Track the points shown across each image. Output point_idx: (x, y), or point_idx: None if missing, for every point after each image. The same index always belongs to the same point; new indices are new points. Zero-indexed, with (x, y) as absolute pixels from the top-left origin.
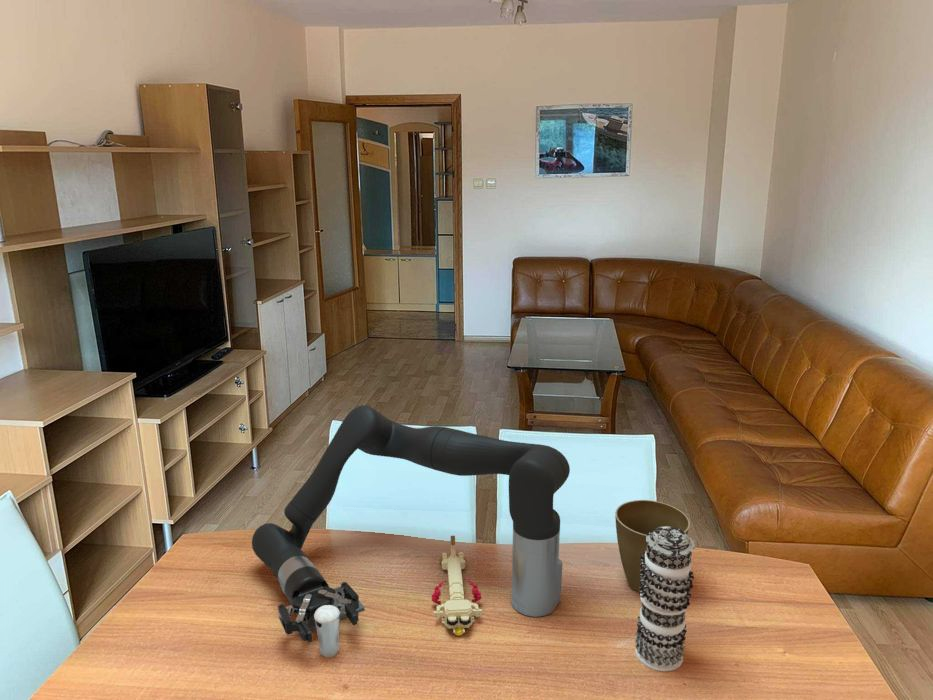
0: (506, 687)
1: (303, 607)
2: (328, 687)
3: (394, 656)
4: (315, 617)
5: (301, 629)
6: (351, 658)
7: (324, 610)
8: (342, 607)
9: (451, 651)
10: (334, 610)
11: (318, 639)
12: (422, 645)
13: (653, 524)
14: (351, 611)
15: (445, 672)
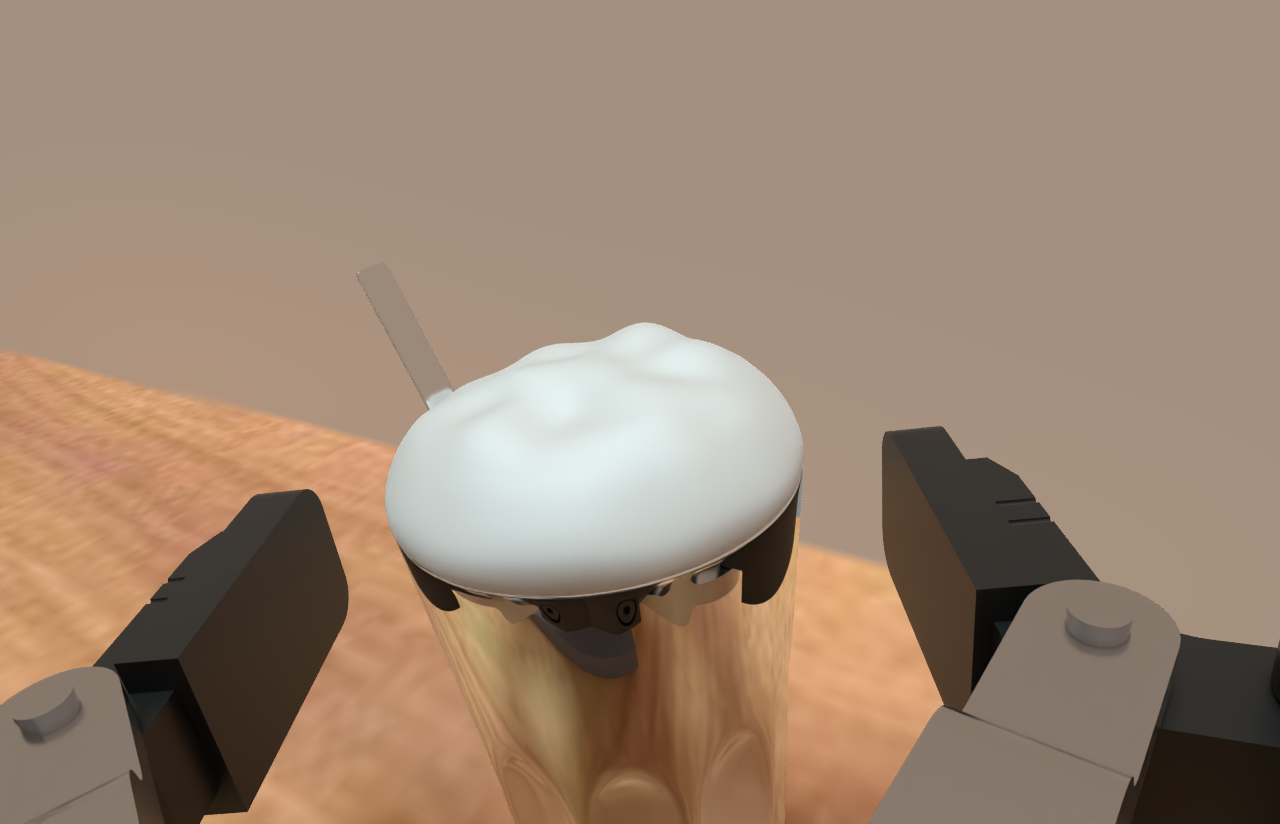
0: (146, 402)
1: (996, 813)
2: (812, 580)
3: None
4: (787, 410)
5: (1034, 524)
6: None
7: (617, 364)
8: (395, 286)
9: (24, 567)
10: (482, 380)
11: (786, 742)
12: (51, 656)
13: None
14: (247, 537)
15: (206, 488)
